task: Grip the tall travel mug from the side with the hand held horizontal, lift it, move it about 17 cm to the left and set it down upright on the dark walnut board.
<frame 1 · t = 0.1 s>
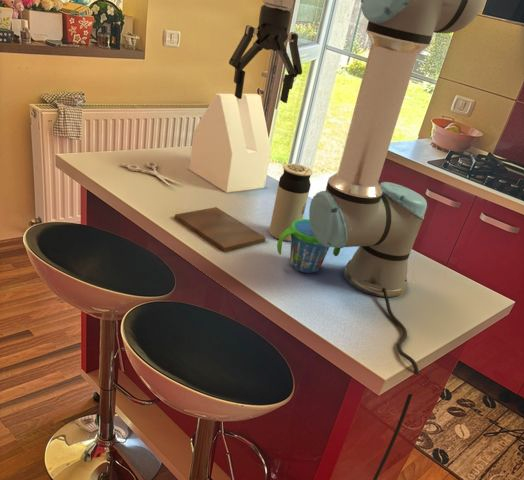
hand: (261, 99, 145), 28 cm above the counter, tool pointing down, fingers open, 13 cm apart
white slotted tapered block: (226, 179, 173), on the counter
scissors: (155, 176, 164), on the counter
walnut board: (219, 230, 141), on the counter
snack cup: (304, 267, 133), on the counter
travel mug: (283, 235, 146), on the counter
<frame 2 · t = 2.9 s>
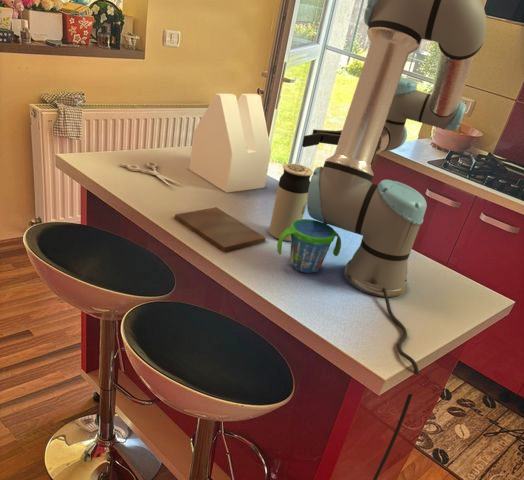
hand: (324, 150, 139), 22 cm above the counter, tool horizontal, fingers open, 13 cm apart
nothing on the counter moved.
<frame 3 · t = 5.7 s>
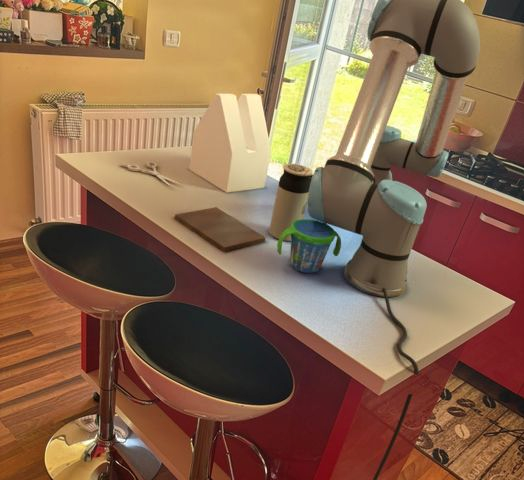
hand: (307, 195, 144), 10 cm above the counter, tool horizontal, fingers open, 13 cm apart
nothing on the counter moved.
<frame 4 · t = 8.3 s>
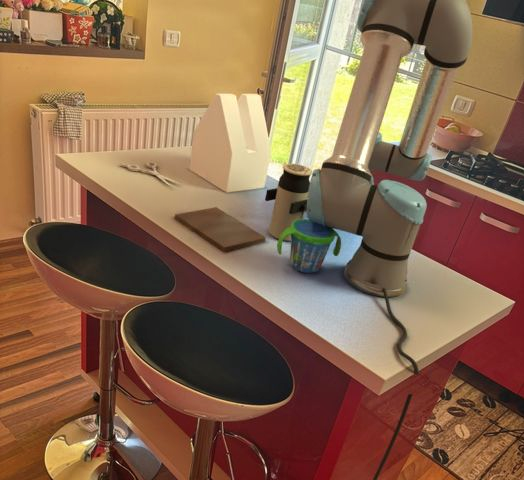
hand: (278, 202, 137), 10 cm above the counter, tool horizontal, fingers closed on travel mug, 8 cm apart
travel mug: (283, 235, 146), on the counter, touching gripper
everything else where it was.
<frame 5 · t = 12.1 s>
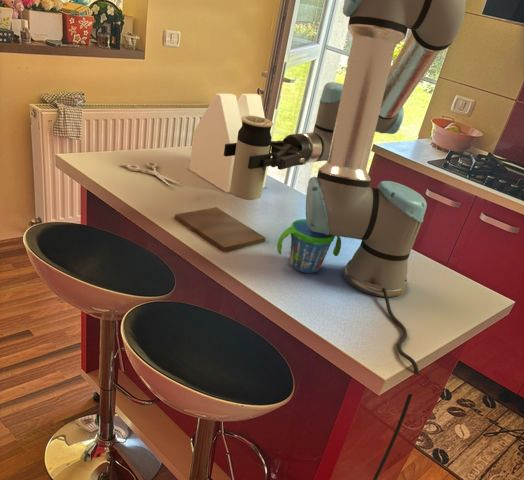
hand: (237, 156, 128), 20 cm above the counter, tool horizontal, fingers closed on travel mug, 8 cm apart
travel mug: (245, 195, 137), point 10 cm above the counter, touching gripper
everything else where it was.
when the fingers open (11 cm above the counter, at t = 15.7 s): travel mug stays where it is, resting on walnut board.
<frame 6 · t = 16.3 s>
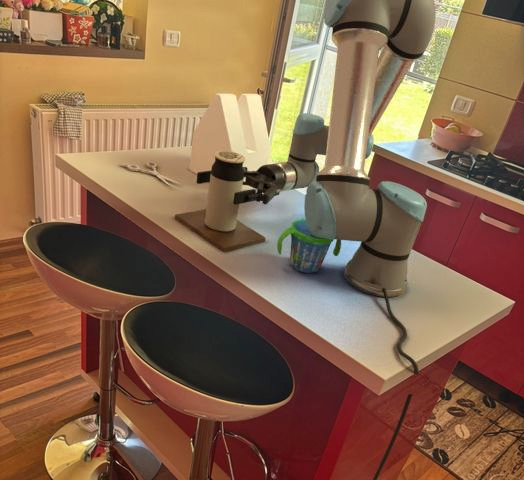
hand: (215, 188, 132), 12 cm above the counter, tool horizontal, fingers open, 13 cm apart
travel mug: (220, 226, 141), point 1 cm above the counter, touching walnut board
everything else where it was.
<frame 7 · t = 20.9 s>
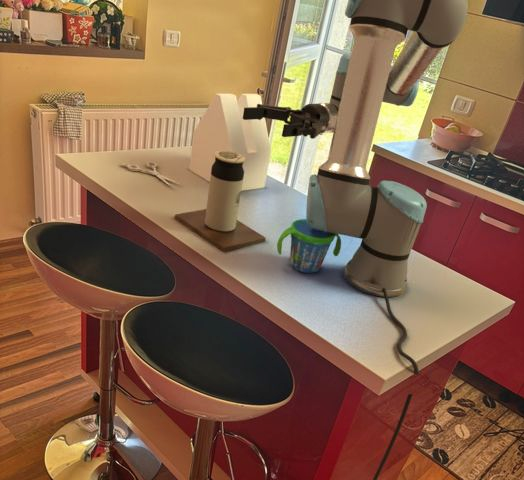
hand: (263, 122, 132), 27 cm above the counter, tool horizontal, fingers open, 13 cm apart
nothing on the counter moved.
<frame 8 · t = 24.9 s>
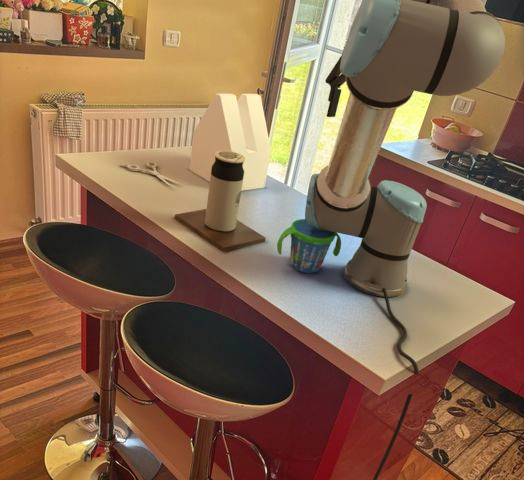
hand: (351, 125, 137), 29 cm above the counter, tool pointing down, fingers open, 13 cm apart
nothing on the counter moved.
at the end: travel mug inside the target area on the walnut board (0.1 cm from its centre), point 1.0 cm above the walnut board's base; travel mug tilted 0°; the gripper is holding nothing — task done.
